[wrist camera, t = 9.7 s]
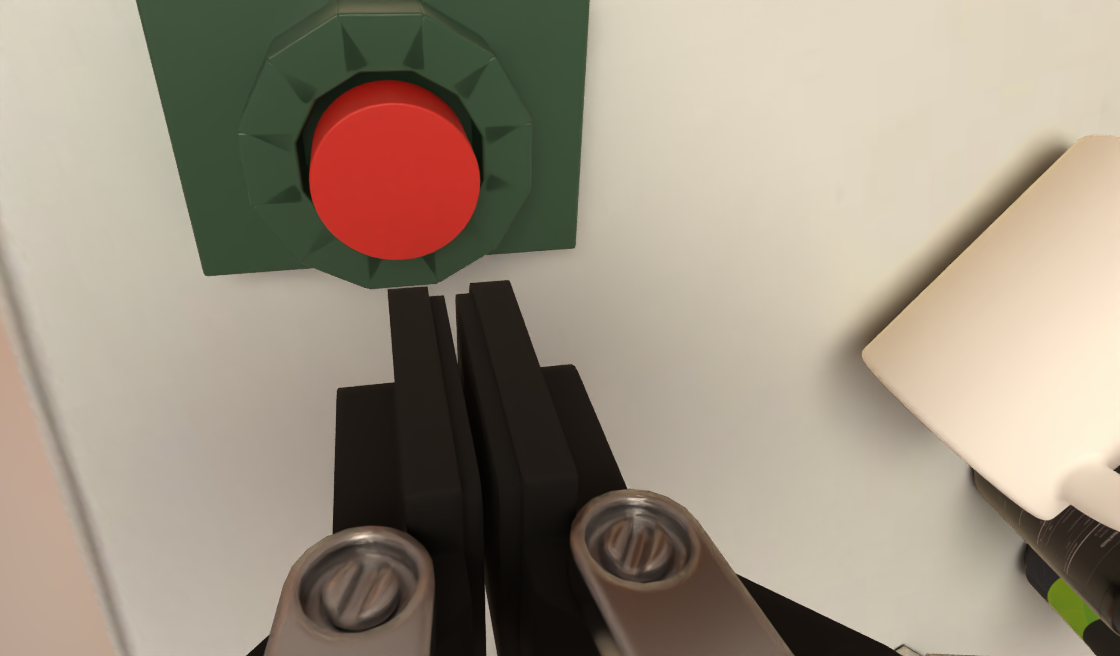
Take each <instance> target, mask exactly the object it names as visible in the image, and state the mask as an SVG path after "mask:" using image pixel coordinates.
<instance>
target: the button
mask: <svg viewBox="0 0 1120 656" xmlns="http://www.w3.org/2000/svg"><path fill="white" fill-rule="evenodd" d="M309 185H310V193H311V197H312V201H313V204H314V206H315V209H316V211H317V213H318V215H319V217H320V219H321V220H322V222H323V223H324V224H325V226H326V227H327V228H328V230H329V231H330V232H331V233H332V234H333V235H334V236H335V237H336V238H338V239H339V240H340V241H341V242H343V243H344V244H346V245H347V246H349V247H350V248H352V249H354V250H356V251H358V252H360V253H363V254H366V255H369V256H371V257H376V258H381V259H389V260H405V259H412V258H417V257H421V256H424V255H427V254H430V253H432V252H434V251H436V250H438V249H440V248H442V247H444V246H445V245H446V244H448V243H449V242H451V241H452V240H453V239H454V238H455V237H456V236H457V235H458V234H459V233H460V232H461V231H462V230H463V229H464V228H465V226H466V225H467V223H468V222H469V220H470V219H471V217H472V214H473V212H474V210H475V208H476V205H477V202H478V197H479V192H480V173H479V167H478V163H477V160H476V157H475V154H474V152H473V149H472V147H471V144H470V142H469V140H468V137H467V135H466V132H465V130H464V128H463V126H462V124H461V122H460V120H459V118H458V117H457V115H456V114H455V113H454V111H453V110H452V109H451V108H450V107H449V106H448V105H447V104H446V103H445V102H444V101H443V100H442V99H441V98H439V97H438V96H437V95H435V94H434V93H432V92H430V91H429V90H427V89H425V88H423V87H420V86H418V85H415V84H412V83H408V82H403V81H397V80H380V81H373V82H368V83H364V84H362V85H359V86H356V87H354V88H352V89H350V90H348V91H346V92H345V93H343V94H342V95H341V96H339V97H338V98H337V99H336V100H334V101H333V102H332V103H331V104H330V105H329V107H328V108H327V109H326V110H325V112H324V113H323V115H322V116H321V118H320V120H319V122H318V124H317V127H316V129H315V132H314V136H313V141H312V150H311V161H310V174H309Z"/></svg>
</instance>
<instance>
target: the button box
mask: <svg viewBox="0 0 1120 656" xmlns="http://www.w3.org/2000/svg"><path fill="white" fill-rule="evenodd" d="M136 3H137V7H138V11H139V15H140V19H141V23H142V27H143V31H144V35H145V39H146V43H147V47H148V51H149V55H150V59H151V63H152V67H153V71H154V75H155V79H156V83H157V87H158V91H159V95H160V99H161V103H162V108H163V112H164V116H165V120H166V124H167V128H168V132H169V136H170V140H171V144H172V148H173V152H174V156H175V160H176V164H177V168H178V172H179V176H180V180H181V184H182V188H183V192H184V196H185V200H186V204H187V208H188V212H189V216H190V220H191V225H192V229H193V233H194V237H195V241H196V245H197V249H198V253H199V257H200V261H201V265H202V269H203V273H204V275H205V276H216V275H229V274H242V273H255V272H268V271H282V270H295V269H308V268H315V269H317V270H320V271H323V272H325V273H328V274H330V275H333V276H336V277H338V278H341V279H343V280H346V281H349V282H351V283H354V284H356V285H359V286H362V287H364V288H369V289H378V288H390V287H402V286H415V285H427V284H437V283H438V282H441V281H443V280H444V279H446V278H448V277H449V276H451V275H453V274H454V273H456V272H458V271H459V270H461V269H463V268H464V267H466V266H468V265H469V264H471V263H473V262H474V261H476V260H478V259H479V258H481V257H483V256H484V255H492V254H506V253H519V252H532V251H545V250H558V249H572V248H575V245H576V229H577V211H578V194H579V177H580V159H581V142H582V124H583V107H584V90H585V72H586V55H587V37H588V20H589V3H590V0H136ZM380 80H397V81H403V82H408V83H412V84H415V85H418V86H420V87H423V88H425V89H427V90H429V91H430V92H432V93H434V94H435V95H437V96H438V97H439V98H441V99H442V100H443V101H444V102H445V103H446V104H447V105H448V106H449V107H450V108H451V109H452V110H453V111H454V113H455V114H456V115H457V117H458V118H459V120H460V122H461V124H462V126H463V128H464V130H465V132H466V135H467V137H468V140H469V142H470V144H471V147H472V149H473V152H474V154H475V157H476V160H477V163H478V167H479V173H480V192H479V197H478V202H477V205H476V208H475V210H474V212H473V214H472V217H471V219H470V220H469V222H468V223H467V225H466V226H465V228H464V229H463V230H462V231H461V232H460V233H459V234H458V235H457V236H456V237H455V238H454V239H453V240H452V241H451V242H449V243H448V244H446V245H445V246H444V247H442V248H440V249H438V250H436V251H434V252H432V253H430V254H427V255H424V256H421V257H417V258H412V259H405V260H389V259H381V258H376V257H371V256H369V255H366V254H363V253H360V252H358V251H356V250H354V249H352V248H350V247H349V246H347V245H346V244H344V243H343V242H341V241H340V240H339V239H338V238H336V237H335V236H334V235H333V234H332V233H331V232H330V231H329V230H328V228H327V227H326V226H325V224H324V223H323V222H322V220H321V219H320V217H319V215H318V213H317V211H316V209H315V206H314V204H313V201H312V197H311V193H310V185H309V174H310V161H311V150H312V141H313V136H314V132H315V129H316V127H317V124H318V122H319V120H320V118H321V116H322V115H323V113H324V112H325V110H326V109H327V108H328V107H329V105H330V104H331V103H332V102H333V101H334V100H336V99H337V98H338V97H339V96H341V95H342V94H343V93H345V92H346V91H348V90H350V89H352V88H354V87H356V86H359V85H362V84H364V83H368V82H373V81H380Z"/></svg>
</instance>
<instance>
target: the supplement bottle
mask: <svg viewBox="0 0 1120 656" xmlns="http://www.w3.org/2000/svg"><path fill="white" fill-rule="evenodd" d="M1113 471H1115V472H1117V473H1118V474H1120V465H1119V466H1118V467H1117V468H1115V469H1114V470H1113ZM974 479H975V483H976V486H977V489H978V491H979V492H980V494H981V495H982V496H983V497H984V499H985V500H986V501H987V502H988V503H989V504H990V505H991V506H992V507H993V508H994V509H995V510H996V511H997V512H998V513H999V514H1000V515H1001V516H1002V518H1003V519H1004V520H1005V521H1006V522H1007V523H1008V524H1009V525H1010V526H1011V527H1012V528H1013V529H1014V530H1015V531H1016V532H1017V533H1018V534H1019V535H1020V536H1021V537H1022V538H1023V539H1024V540H1025V541H1026V542H1027V543H1028V544H1029V545H1030V546H1031V548H1032V549H1033V550H1034V551H1035V552H1036V553H1037V554H1038V555H1039V556H1040V557H1041V558H1042V559H1043V560H1044V561H1045V562H1046V563H1047V564H1048V565H1049V566H1050V567H1051V568H1052V569H1053V570H1054V571H1055V572H1056V573H1057V574H1058V575H1059V576H1060V578H1061V579H1062V580H1063V581H1064V582H1065V583H1066V584H1067V585H1068V586H1069V587H1070V588H1071V589H1072V590H1073V591H1074V592H1075V593H1076V594H1077V595H1078V596H1079V597H1080V598H1081V599H1082V600H1083V601H1084V602H1085V603H1086V604H1087V605H1088V607H1089V608H1090V609H1091V610H1092V611H1093V612H1094V613H1095V614H1096V615H1097V616H1098V617H1099V618H1100V619H1101V620H1102V621H1103V622H1104V623H1105V624H1106V625H1107V626H1108V627H1109V628H1110V629H1111V630H1112V631H1113V632H1115V633H1116V634H1117V635H1119V636H1120V532H1119V531H1117V530H1114V529H1112V528H1110V527H1108V526H1106V525H1104V524H1102V523H1100V522H1098V521H1096V520H1094V519H1092V518H1091V517H1089V516H1087V515H1086V514H1084V513H1083V512H1081V511H1080V510H1078V509H1077V508H1075V507H1074V506H1072V505H1069V506H1068V507H1067V508H1066V509H1064V510H1063V511H1062V512H1061V513H1059V514H1058V515H1057V516H1056V517H1054V518H1053V519H1051V520H1042V519H1039V518H1037V517H1035V516H1033V515H1032V514H1030V513H1028V512H1027V511H1026V510H1024V509H1023V508H1021V507H1020V506H1019V505H1017V504H1016V503H1015V502H1013V501H1012V500H1011V499H1009V498H1008V497H1007V496H1006V495H1004V494H1003V493H1002V492H1001V491H999V490H998V489H997V488H996V487H995V486H993V485H992V484H991V483H990V482H989V481H987V480H986V479H985V478H984V477H983V476H981V475H980V474H979V473H978V472H977V471H976V470H974Z"/></svg>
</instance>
